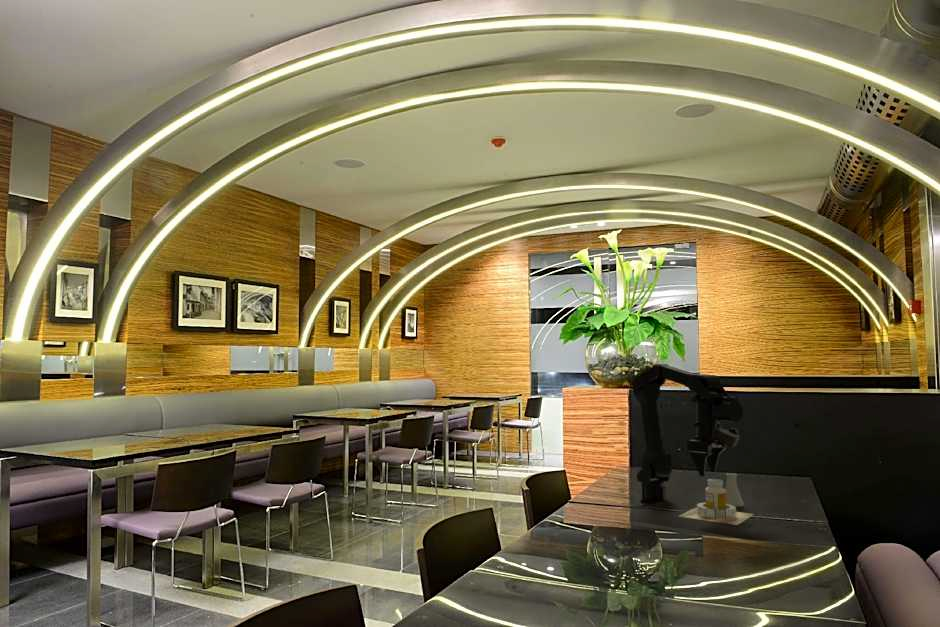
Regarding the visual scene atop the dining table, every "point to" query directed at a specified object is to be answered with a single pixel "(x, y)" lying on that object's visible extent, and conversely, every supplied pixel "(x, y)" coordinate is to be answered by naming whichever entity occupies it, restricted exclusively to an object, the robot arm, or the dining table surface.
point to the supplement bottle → (715, 494)
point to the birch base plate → (737, 520)
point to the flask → (733, 491)
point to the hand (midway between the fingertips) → (707, 473)
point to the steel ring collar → (716, 512)
